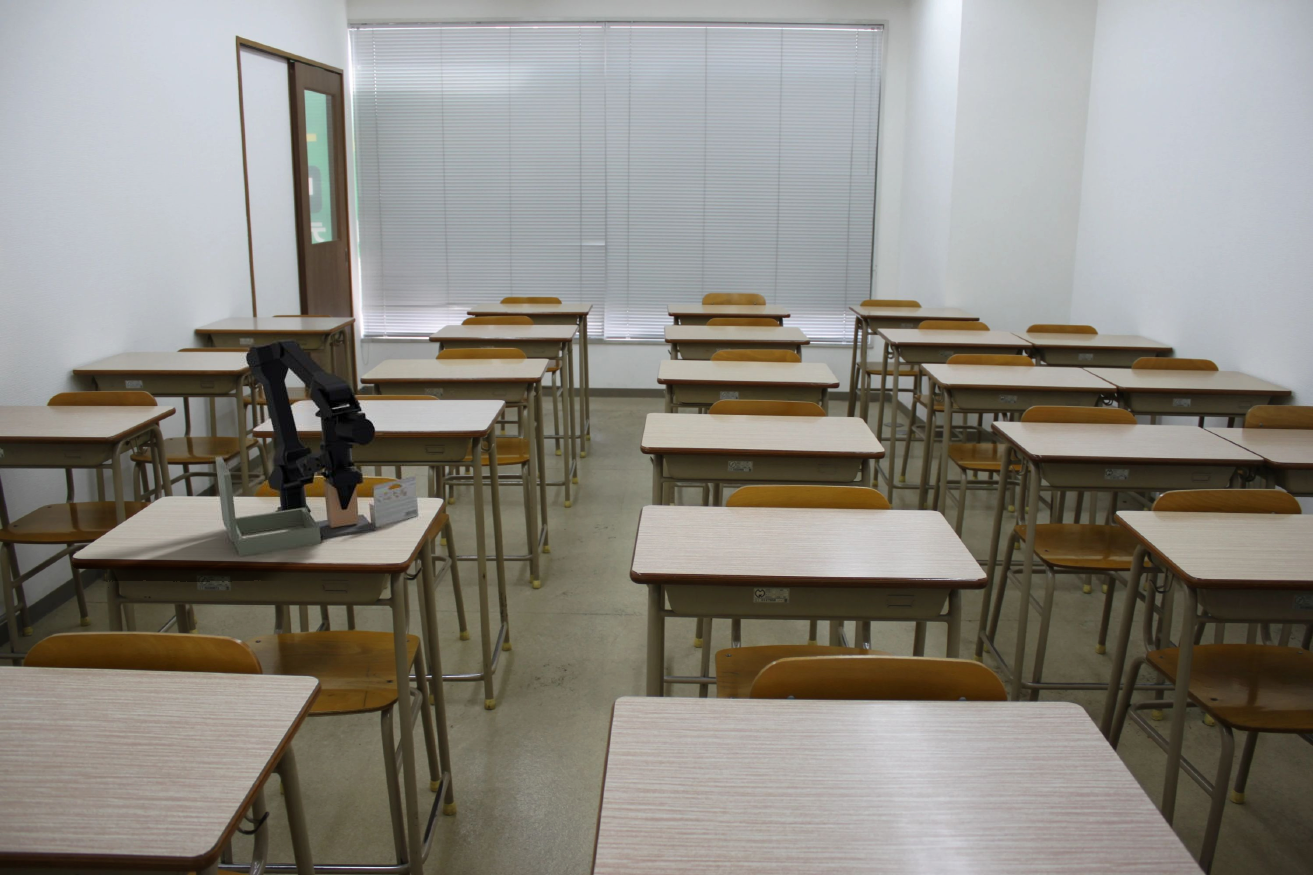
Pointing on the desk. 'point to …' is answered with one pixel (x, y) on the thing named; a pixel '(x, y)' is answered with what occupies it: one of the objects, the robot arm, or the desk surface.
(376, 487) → the ink cartridge box
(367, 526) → the rubber mat
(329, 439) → the robot arm
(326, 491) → the box
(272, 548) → the case
